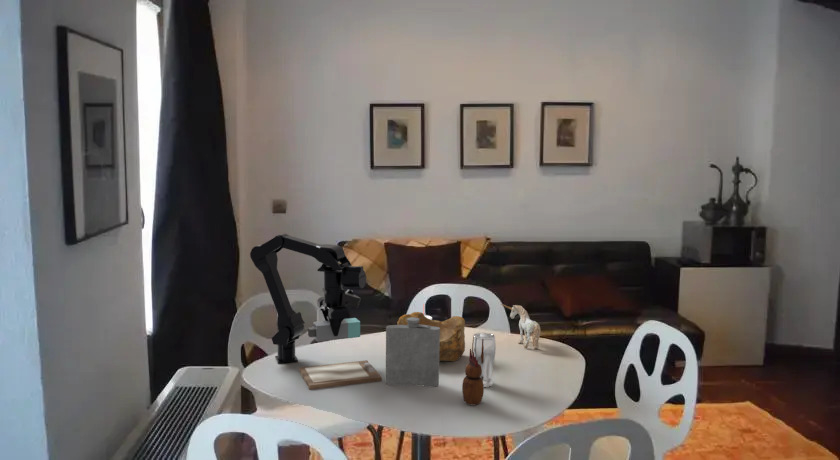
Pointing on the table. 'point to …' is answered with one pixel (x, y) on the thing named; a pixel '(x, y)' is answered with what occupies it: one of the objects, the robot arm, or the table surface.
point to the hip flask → (412, 354)
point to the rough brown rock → (444, 334)
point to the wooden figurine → (473, 382)
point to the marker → (324, 332)
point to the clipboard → (339, 374)
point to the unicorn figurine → (526, 326)
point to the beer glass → (484, 355)
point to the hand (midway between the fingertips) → (333, 333)
